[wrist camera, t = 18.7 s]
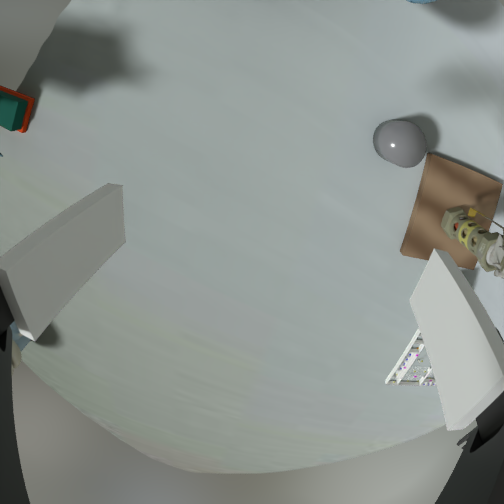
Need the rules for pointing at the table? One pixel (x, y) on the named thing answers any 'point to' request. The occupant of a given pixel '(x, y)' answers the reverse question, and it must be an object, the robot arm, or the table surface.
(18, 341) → the toy
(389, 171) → the table surface
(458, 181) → the walnut board
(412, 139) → the grey rounded block
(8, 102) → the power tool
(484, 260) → the grenade
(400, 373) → the floor plan model
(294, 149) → the table surface
